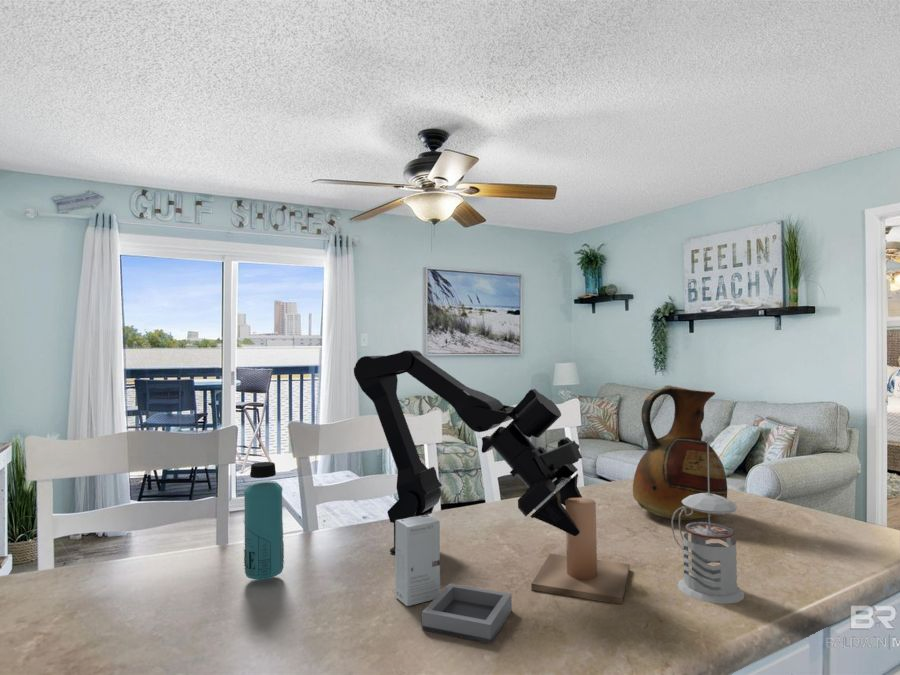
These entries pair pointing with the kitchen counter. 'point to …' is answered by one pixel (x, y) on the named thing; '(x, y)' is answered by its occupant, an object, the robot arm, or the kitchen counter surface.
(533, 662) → the kitchen counter surface
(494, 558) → the kitchen counter surface
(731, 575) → the french press
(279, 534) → the beverage bottle
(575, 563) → the terracotta canister
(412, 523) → the skincare box
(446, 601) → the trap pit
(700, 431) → the ceramic pitcher
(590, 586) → the mat
